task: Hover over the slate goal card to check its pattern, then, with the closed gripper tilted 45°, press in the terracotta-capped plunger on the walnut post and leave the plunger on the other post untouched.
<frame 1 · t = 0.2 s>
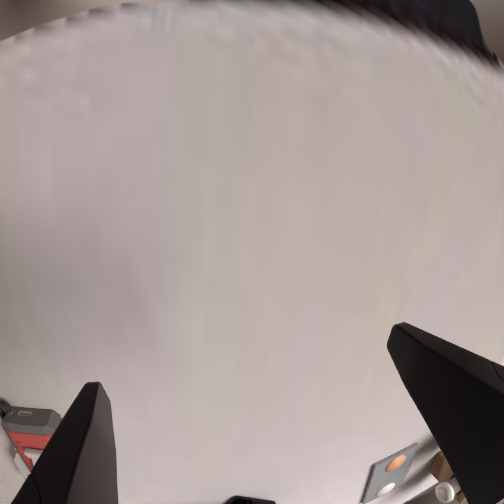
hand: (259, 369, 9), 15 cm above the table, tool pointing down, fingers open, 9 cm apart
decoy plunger: (456, 484, 34), point 7 cm above the table, slide at 0.0 cm
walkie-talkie: (54, 461, 24), on the table
goal card: (388, 474, 38), on the table
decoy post: (440, 457, 42), on the table
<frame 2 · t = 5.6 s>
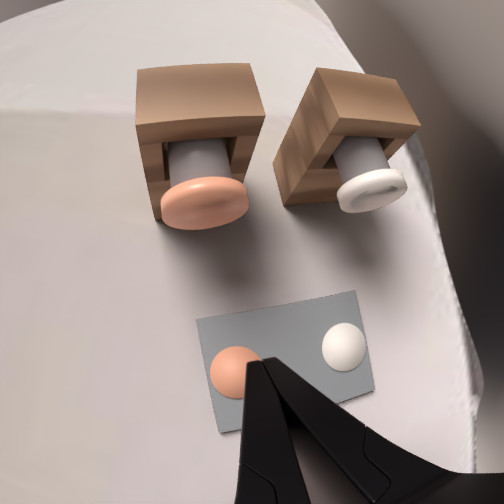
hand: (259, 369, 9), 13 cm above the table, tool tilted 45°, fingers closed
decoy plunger: (357, 151, 19), point 7 cm above the table, slide at 0.0 cm
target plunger: (197, 157, 17), point 7 cm above the table, slide at 0.0 cm
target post: (191, 191, 24), on the table
goal card: (290, 360, 22), on the table
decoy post: (311, 181, 27), on the table
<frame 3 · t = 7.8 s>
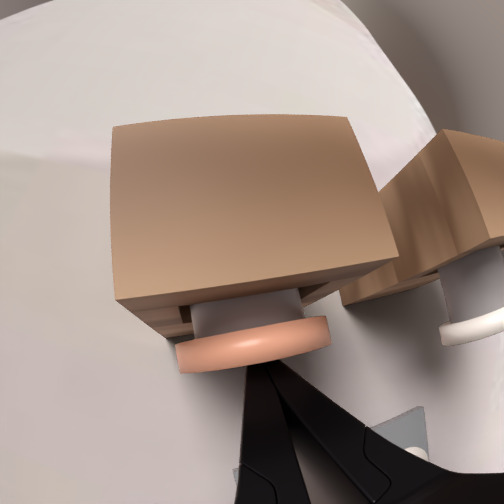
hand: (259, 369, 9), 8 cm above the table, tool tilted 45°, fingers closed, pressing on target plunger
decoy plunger: (468, 256, 12), point 7 cm above the table, slide at 0.0 cm
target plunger: (234, 249, 10), point 8 cm above the table, slide at 1.6 cm, touching gripper
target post: (215, 292, 17), on the table
goal card: (345, 495, 14), on the table
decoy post: (375, 265, 19), on the table
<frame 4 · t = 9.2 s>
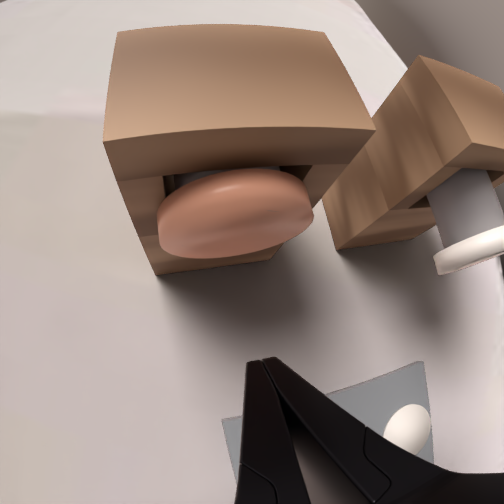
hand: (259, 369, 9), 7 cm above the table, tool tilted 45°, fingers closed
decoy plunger: (458, 186, 12), point 8 cm above the table, slide at 0.0 cm
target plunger: (220, 139, 10), point 8 cm above the table, slide at 2.2 cm
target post: (207, 231, 17), on the table
goal card: (343, 455, 14), on the table
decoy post: (368, 214, 19), on the table
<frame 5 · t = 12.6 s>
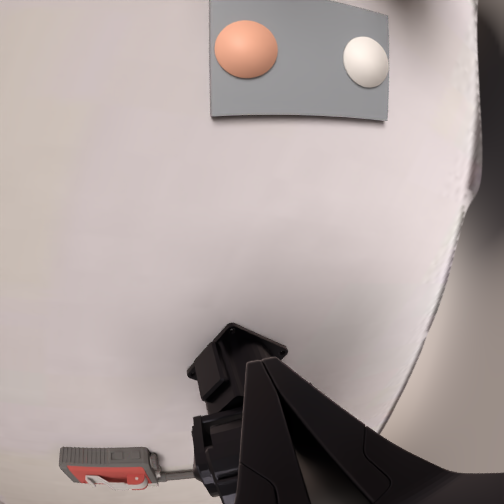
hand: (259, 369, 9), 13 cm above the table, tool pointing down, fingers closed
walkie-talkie: (134, 458, 31), on the table
goal card: (307, 54, 17), on the table
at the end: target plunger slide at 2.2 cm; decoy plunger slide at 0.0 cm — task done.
